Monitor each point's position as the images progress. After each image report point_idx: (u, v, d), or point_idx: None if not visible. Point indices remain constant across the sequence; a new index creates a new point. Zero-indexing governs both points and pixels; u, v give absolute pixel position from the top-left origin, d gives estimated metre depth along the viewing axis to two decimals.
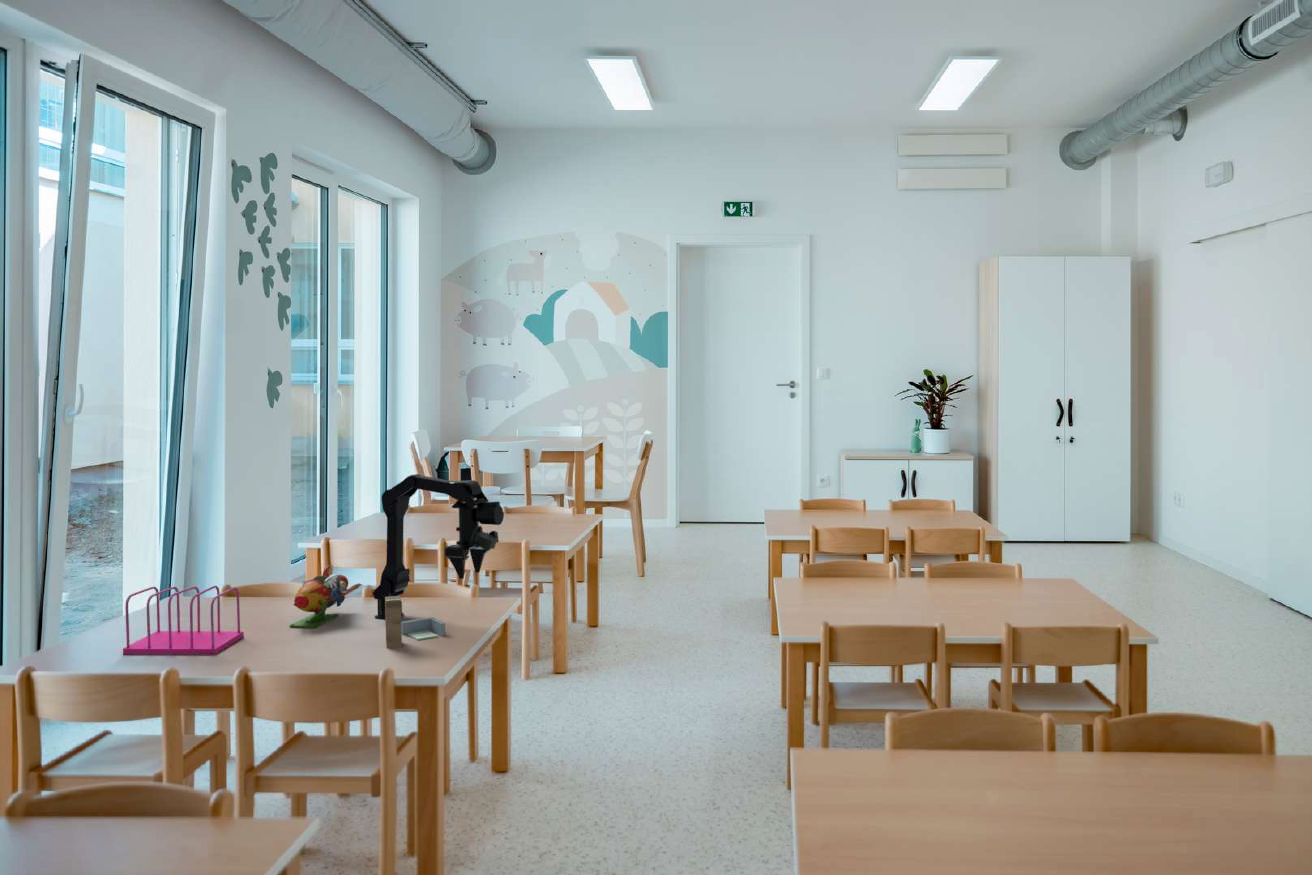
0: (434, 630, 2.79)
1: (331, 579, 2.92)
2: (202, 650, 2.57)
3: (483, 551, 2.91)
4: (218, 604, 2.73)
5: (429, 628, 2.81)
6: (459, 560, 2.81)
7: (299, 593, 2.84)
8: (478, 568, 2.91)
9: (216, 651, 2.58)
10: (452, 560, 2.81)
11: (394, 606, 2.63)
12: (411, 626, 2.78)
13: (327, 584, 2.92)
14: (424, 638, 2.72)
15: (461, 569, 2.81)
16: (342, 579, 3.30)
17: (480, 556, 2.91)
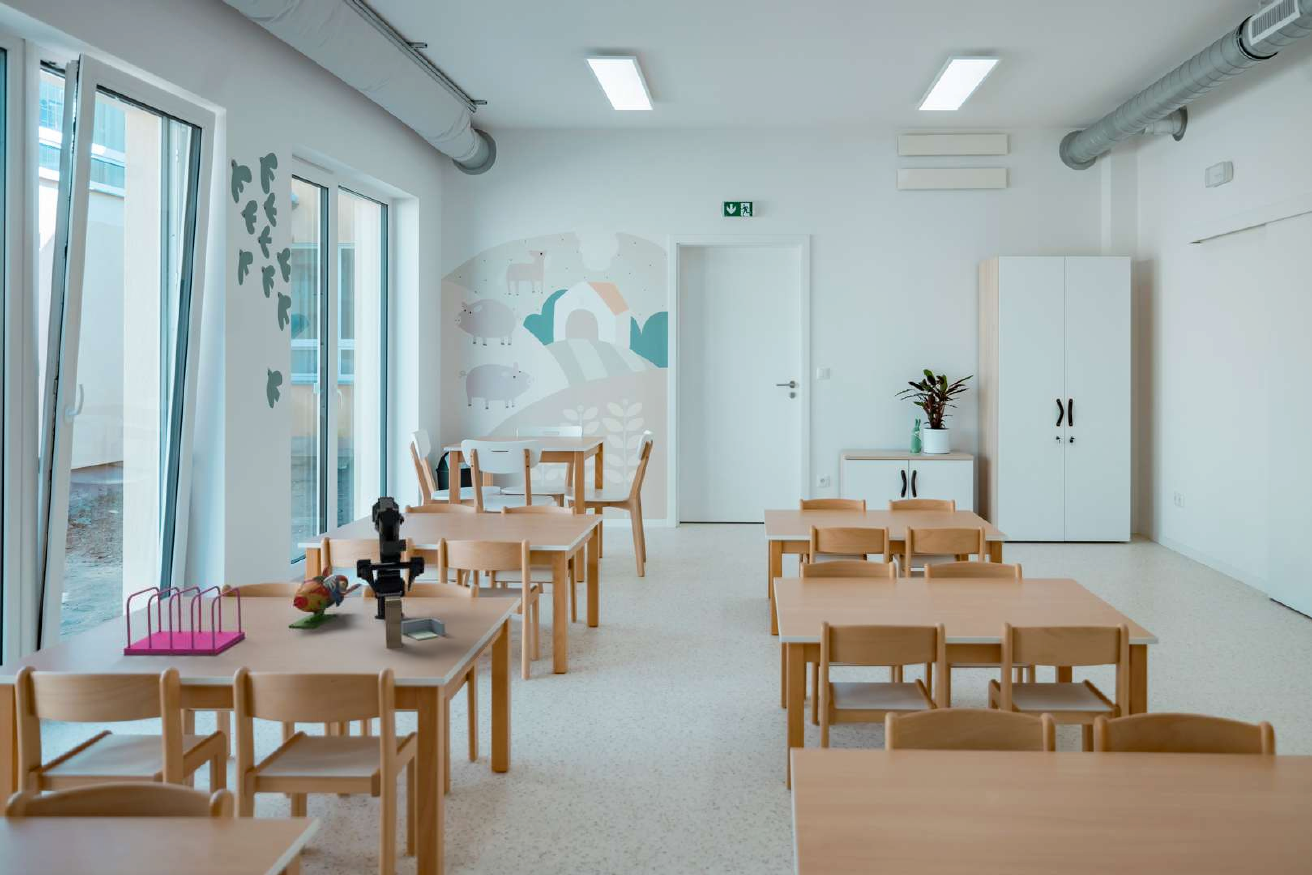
0: (434, 630, 2.79)
1: (330, 579, 2.91)
2: (202, 650, 2.57)
3: (409, 567, 2.76)
4: (219, 604, 2.73)
5: (429, 628, 2.81)
6: None
7: (298, 593, 2.84)
8: (408, 585, 2.74)
9: (217, 651, 2.58)
10: (367, 580, 2.75)
11: (394, 606, 2.63)
12: (411, 626, 2.78)
13: (326, 584, 2.91)
14: (424, 638, 2.72)
15: (370, 582, 2.72)
16: (342, 579, 3.29)
17: None
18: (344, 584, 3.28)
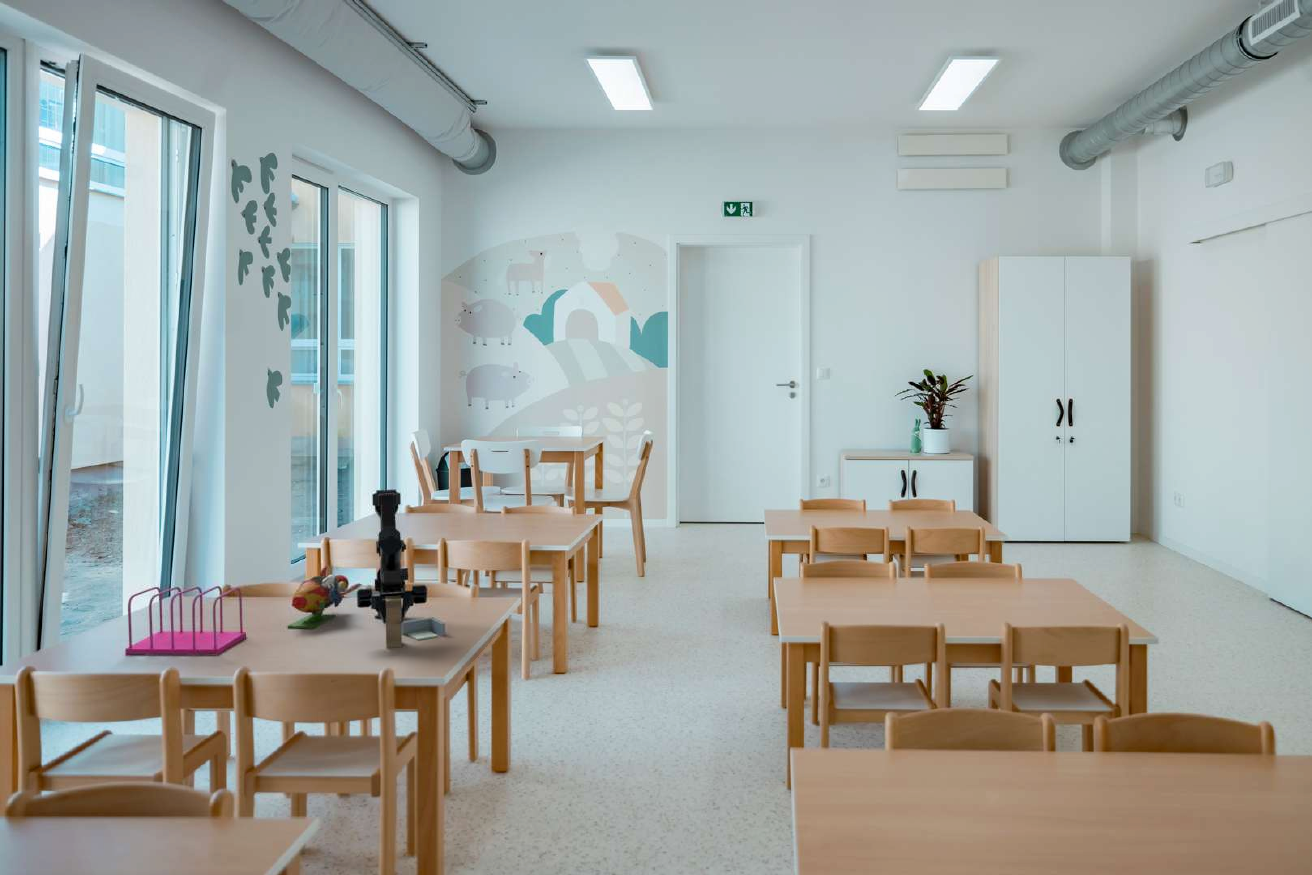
0: (434, 630, 2.79)
1: (329, 579, 2.91)
2: (204, 650, 2.57)
3: (402, 597, 2.68)
4: (221, 604, 2.72)
5: (429, 628, 2.81)
6: None
7: (297, 594, 2.84)
8: None
9: (218, 651, 2.57)
10: (377, 609, 2.68)
11: (394, 605, 2.63)
12: (411, 626, 2.78)
13: (325, 584, 2.91)
14: (424, 638, 2.72)
15: (380, 612, 2.65)
16: (342, 579, 3.29)
17: (402, 604, 2.67)
18: (344, 584, 3.27)
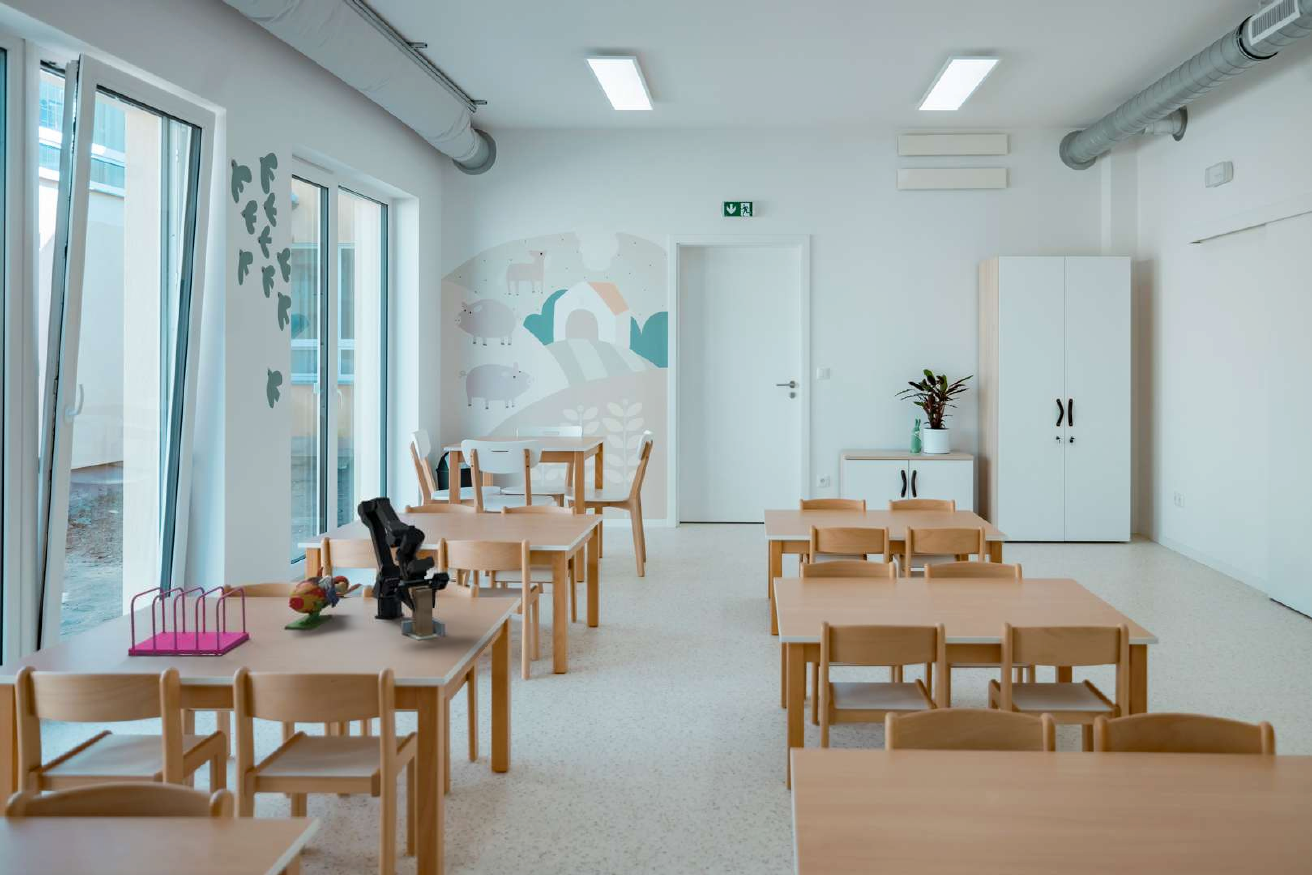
0: (434, 630, 2.79)
1: (326, 580, 2.90)
2: (207, 651, 2.56)
3: (430, 584, 2.78)
4: (223, 605, 2.72)
5: None
6: None
7: (294, 594, 2.83)
8: (432, 602, 2.75)
9: (221, 652, 2.57)
10: (400, 598, 2.75)
11: (426, 596, 2.72)
12: (411, 626, 2.78)
13: (322, 585, 2.90)
14: (424, 638, 2.72)
15: (408, 601, 2.72)
16: (342, 580, 3.28)
17: None
18: (344, 585, 3.27)
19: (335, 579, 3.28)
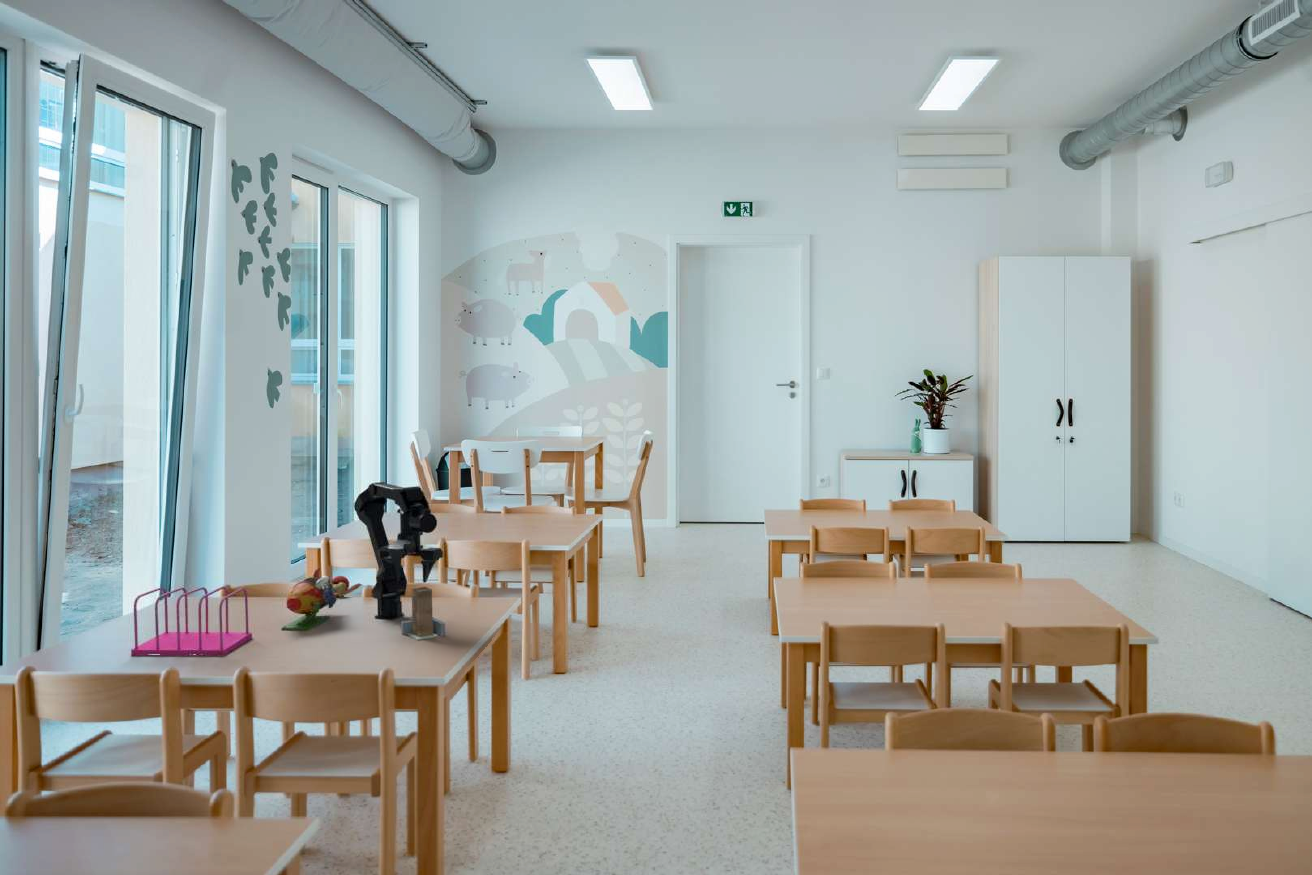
0: (434, 630, 2.79)
1: (323, 581, 2.89)
2: (210, 651, 2.56)
3: None
4: (226, 605, 2.72)
5: None
6: None
7: (291, 595, 2.82)
8: None
9: (225, 652, 2.57)
10: None
11: (426, 595, 2.73)
12: (411, 626, 2.78)
13: (319, 586, 2.89)
14: (424, 638, 2.72)
15: None
16: (342, 580, 3.27)
17: None
18: (344, 585, 3.26)
19: (335, 579, 3.27)
